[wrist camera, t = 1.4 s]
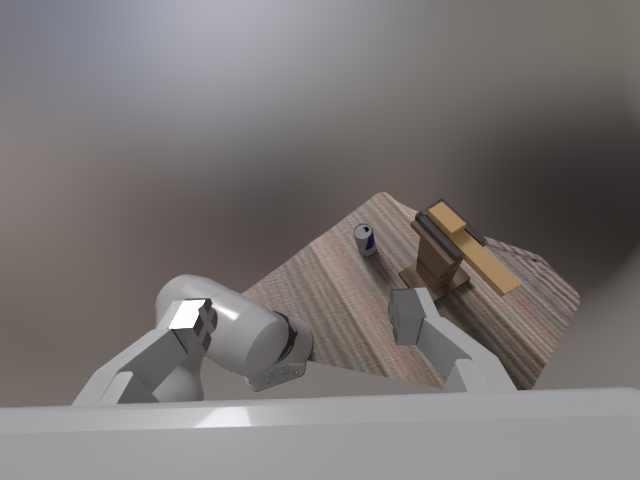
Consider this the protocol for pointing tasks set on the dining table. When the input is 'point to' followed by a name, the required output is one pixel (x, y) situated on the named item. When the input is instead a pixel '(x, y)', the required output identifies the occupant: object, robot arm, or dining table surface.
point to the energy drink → (365, 240)
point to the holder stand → (437, 257)
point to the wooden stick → (472, 250)
